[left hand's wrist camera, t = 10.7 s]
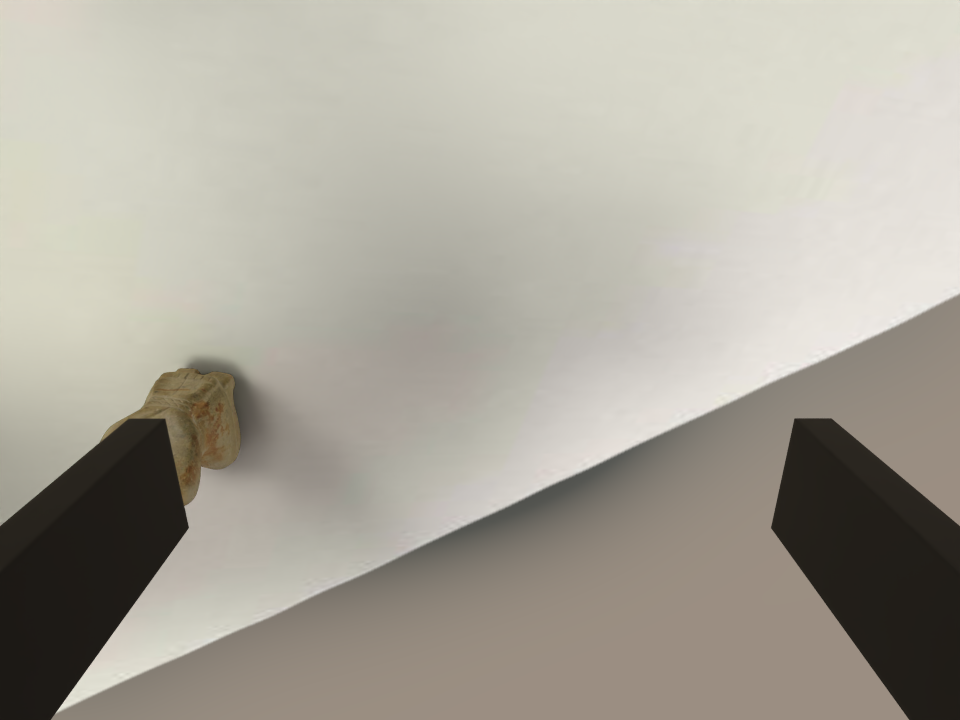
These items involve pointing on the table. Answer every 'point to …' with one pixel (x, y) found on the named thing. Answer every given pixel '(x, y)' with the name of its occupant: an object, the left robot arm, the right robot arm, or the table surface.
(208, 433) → the sculpture
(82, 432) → the table surface
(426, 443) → the table surface
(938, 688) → the left robot arm
